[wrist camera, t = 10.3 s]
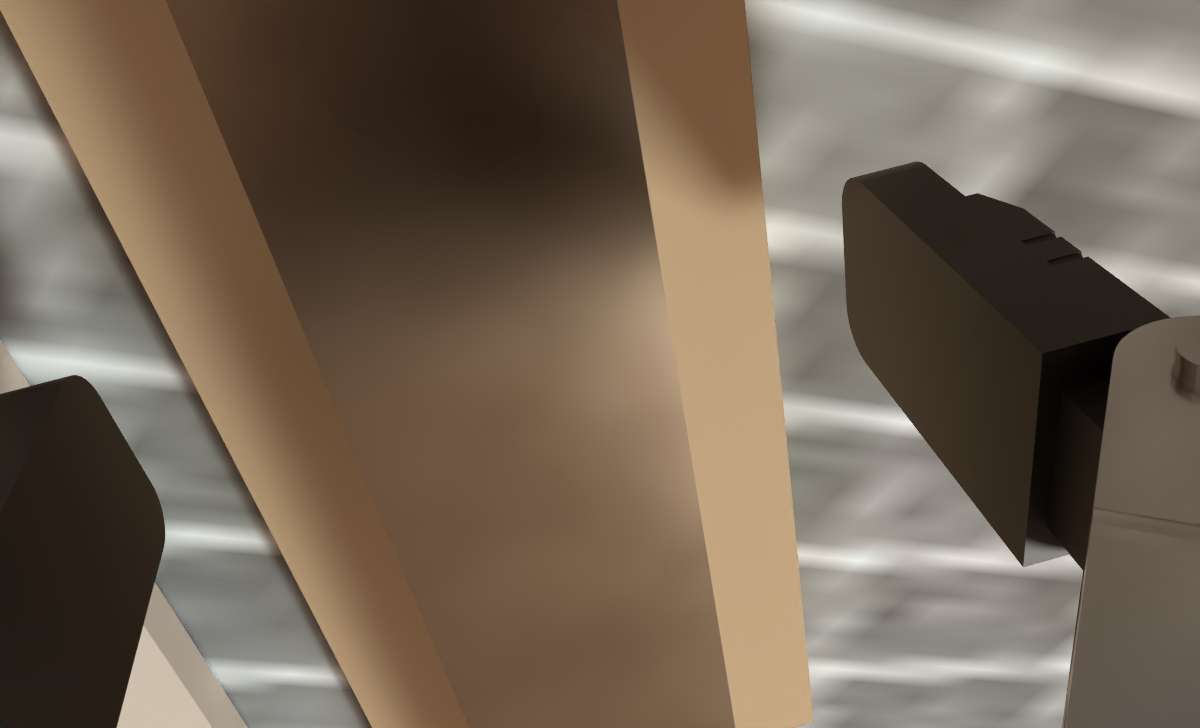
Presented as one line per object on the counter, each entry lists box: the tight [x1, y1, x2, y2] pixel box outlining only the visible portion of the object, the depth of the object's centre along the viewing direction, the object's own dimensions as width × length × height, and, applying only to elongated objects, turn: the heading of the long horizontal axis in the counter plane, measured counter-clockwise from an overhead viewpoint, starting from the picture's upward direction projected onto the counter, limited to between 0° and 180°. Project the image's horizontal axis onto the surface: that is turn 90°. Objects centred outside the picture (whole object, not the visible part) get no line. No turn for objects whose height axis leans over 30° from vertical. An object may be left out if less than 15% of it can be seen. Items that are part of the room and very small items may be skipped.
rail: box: [166, 0, 735, 728], centre depth 10 cm, size 3×22×3 cm, turn 10°
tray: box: [0, 0, 813, 728], centre depth 12 cm, size 7×20×1 cm, turn 10°
